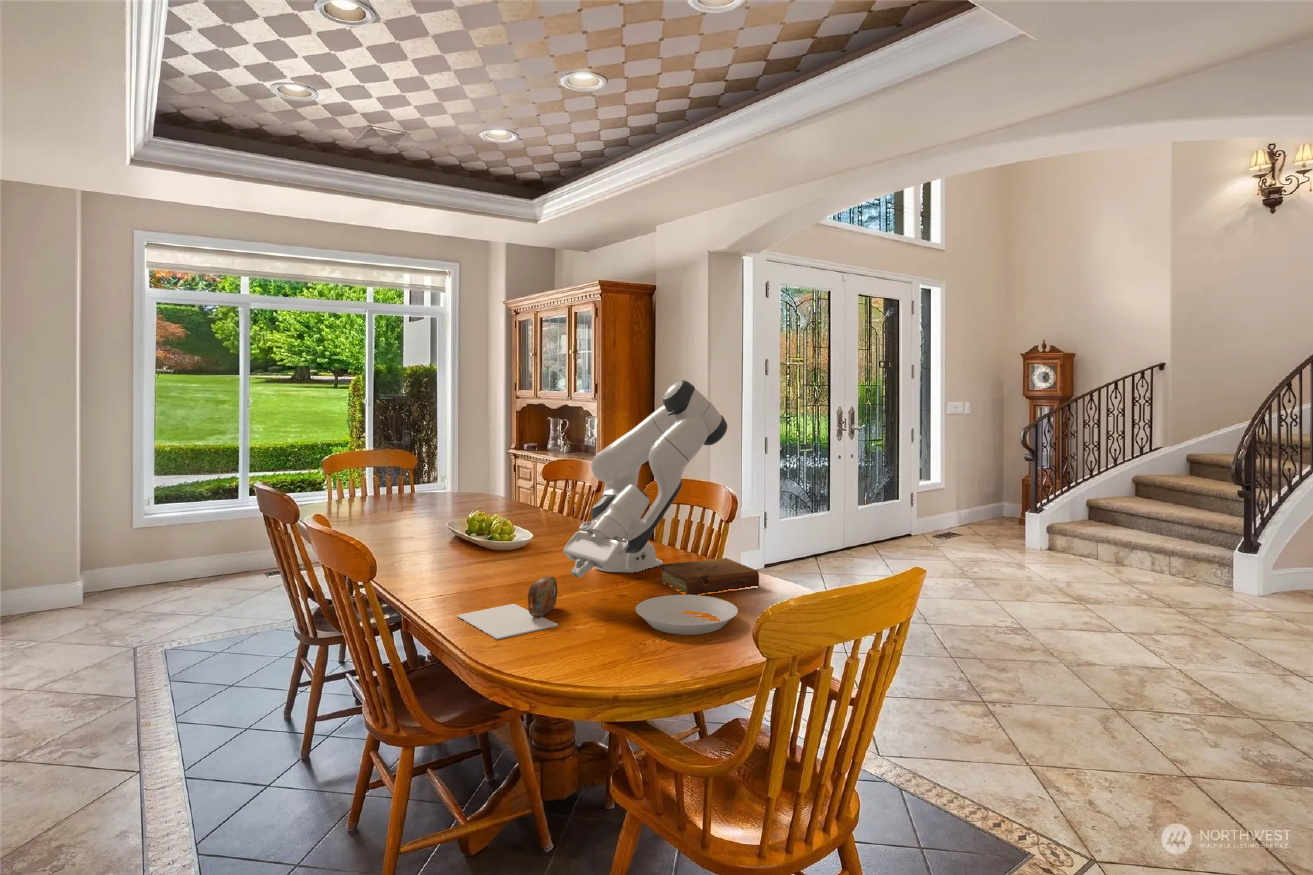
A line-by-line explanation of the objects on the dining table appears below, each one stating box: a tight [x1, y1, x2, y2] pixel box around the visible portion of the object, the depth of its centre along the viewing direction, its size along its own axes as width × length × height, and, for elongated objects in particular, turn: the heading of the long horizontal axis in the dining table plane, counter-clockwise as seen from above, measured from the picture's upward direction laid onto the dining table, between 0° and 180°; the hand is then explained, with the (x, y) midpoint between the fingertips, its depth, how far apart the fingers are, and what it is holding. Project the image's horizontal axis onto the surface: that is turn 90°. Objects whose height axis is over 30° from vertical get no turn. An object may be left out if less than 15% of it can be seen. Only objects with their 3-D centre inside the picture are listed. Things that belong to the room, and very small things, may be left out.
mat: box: [455, 603, 559, 641], centre depth 176 cm, size 16×22×1 cm
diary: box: [658, 557, 760, 595], centre depth 210 cm, size 23×19×6 cm
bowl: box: [634, 594, 739, 636], centre depth 175 cm, size 25×25×4 cm
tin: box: [527, 576, 558, 618], centre depth 182 cm, size 15×3×8 cm, turn 168°
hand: (575, 575), depth 186 cm, fingers closed
